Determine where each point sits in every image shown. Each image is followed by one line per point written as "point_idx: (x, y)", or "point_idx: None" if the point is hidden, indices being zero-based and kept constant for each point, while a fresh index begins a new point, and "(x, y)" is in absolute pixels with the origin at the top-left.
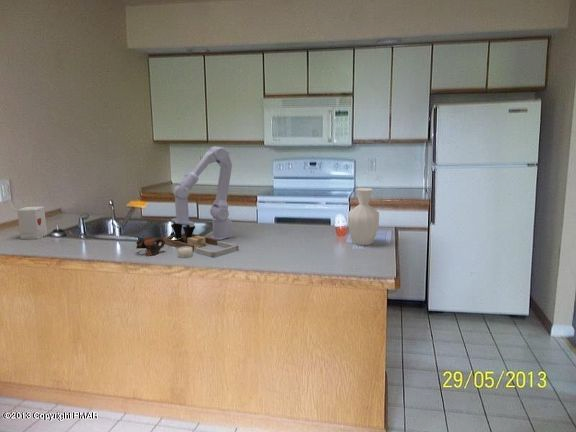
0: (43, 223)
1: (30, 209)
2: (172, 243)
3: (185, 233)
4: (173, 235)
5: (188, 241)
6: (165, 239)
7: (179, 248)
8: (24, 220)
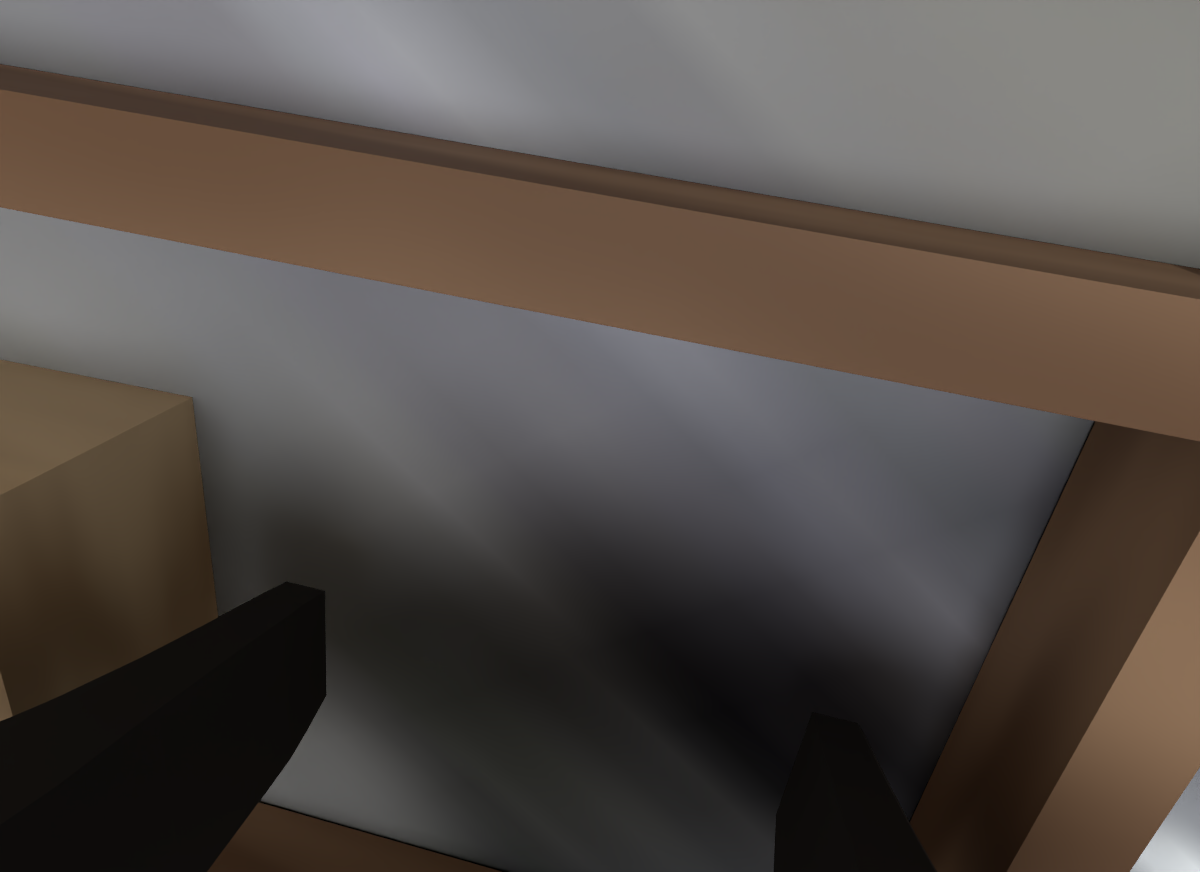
0: None
1: None
2: (528, 168)
3: (60, 755)
4: (1105, 863)
5: (13, 448)
6: (1083, 278)
7: None
8: None
